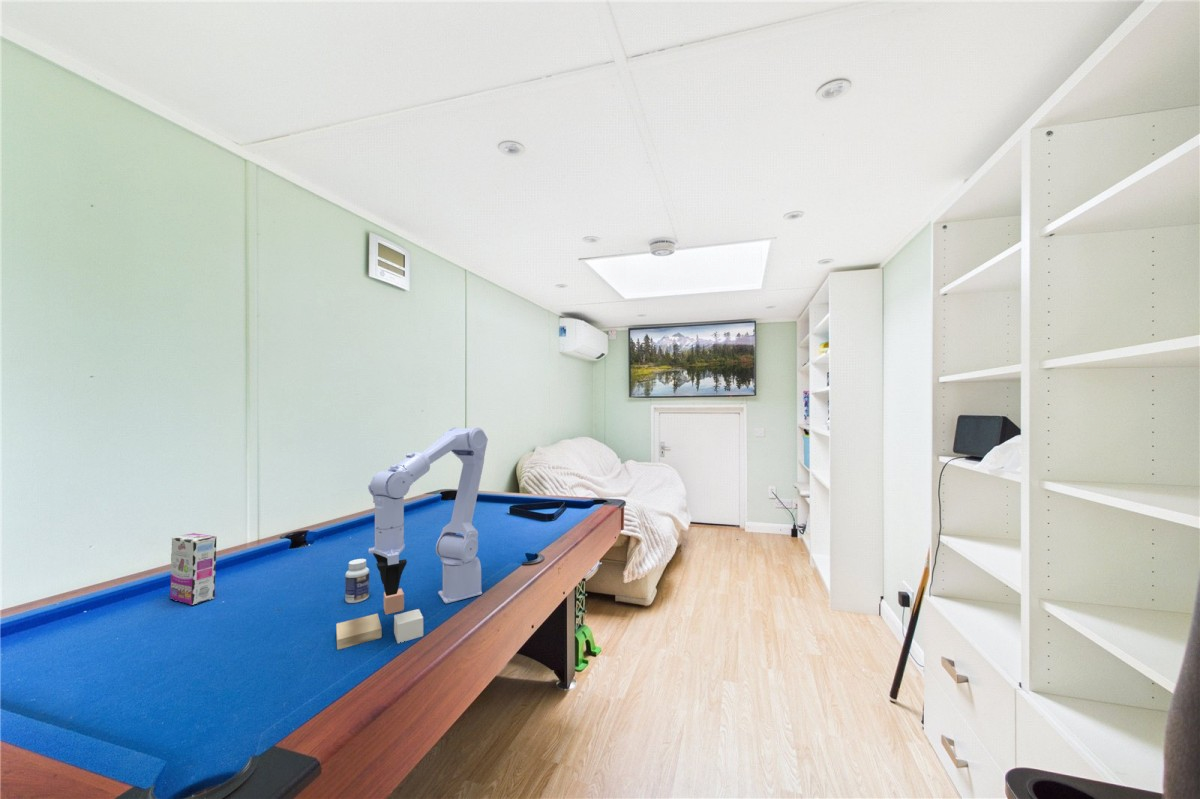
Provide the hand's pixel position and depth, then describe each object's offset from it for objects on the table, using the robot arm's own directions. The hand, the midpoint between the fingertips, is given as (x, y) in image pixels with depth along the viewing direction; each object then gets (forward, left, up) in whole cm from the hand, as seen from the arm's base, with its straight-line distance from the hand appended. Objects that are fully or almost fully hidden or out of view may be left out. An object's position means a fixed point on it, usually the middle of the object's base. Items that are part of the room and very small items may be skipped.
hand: (389, 588), depth 91 cm
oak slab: (+6, -3, -10) cm, 11 cm away
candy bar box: (+41, -50, -10) cm, 65 cm away
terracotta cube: (-2, -12, -10) cm, 15 cm away
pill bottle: (+5, -24, -10) cm, 26 cm away
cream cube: (-3, +3, -10) cm, 11 cm away
